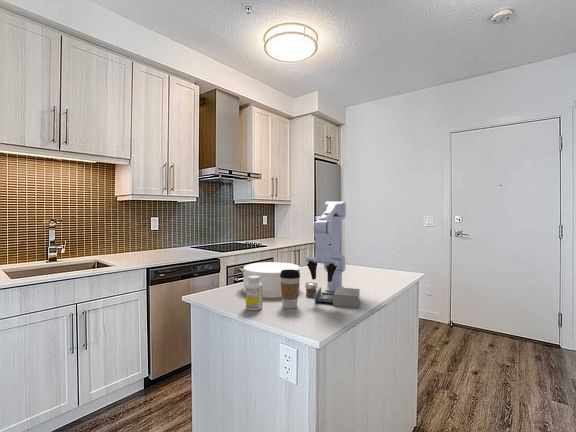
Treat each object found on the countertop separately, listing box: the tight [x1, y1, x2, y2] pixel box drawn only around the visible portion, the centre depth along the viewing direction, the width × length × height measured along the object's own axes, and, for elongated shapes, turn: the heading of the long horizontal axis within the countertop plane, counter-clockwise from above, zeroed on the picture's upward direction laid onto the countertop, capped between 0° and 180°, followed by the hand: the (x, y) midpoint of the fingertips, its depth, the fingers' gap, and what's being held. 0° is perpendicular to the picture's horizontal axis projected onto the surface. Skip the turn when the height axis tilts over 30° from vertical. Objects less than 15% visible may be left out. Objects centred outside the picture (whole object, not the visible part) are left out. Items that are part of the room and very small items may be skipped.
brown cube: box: [305, 287, 317, 298], centre depth 145 cm, size 4×4×4 cm
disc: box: [305, 281, 318, 290], centre depth 145 cm, size 6×6×2 cm
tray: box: [313, 287, 334, 304], centre depth 137 cm, size 12×10×4 cm
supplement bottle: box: [245, 276, 263, 312], centre depth 126 cm, size 7×7×13 cm
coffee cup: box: [280, 269, 301, 309], centre depth 129 cm, size 8×8×15 cm
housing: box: [332, 287, 361, 309], centre depth 134 cm, size 12×10×5 cm
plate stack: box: [242, 261, 301, 299], centre depth 155 cm, size 28×28×12 cm
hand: (321, 280), depth 133 cm, fingers open, 7 cm apart
